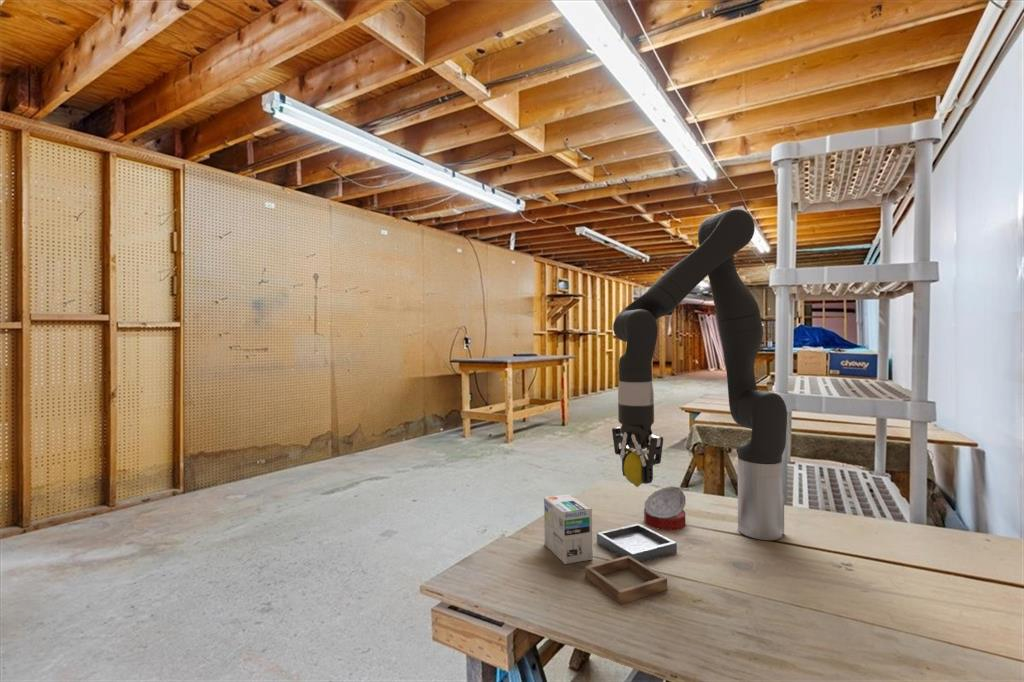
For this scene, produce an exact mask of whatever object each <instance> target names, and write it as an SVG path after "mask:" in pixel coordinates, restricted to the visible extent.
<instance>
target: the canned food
mask: <svg viewBox="0 0 1024 682" xmlns="http://www.w3.org/2000/svg"><path fill="white" fill-rule="evenodd" d="M686 505H687V504H686V495H685V493H684V491H683V490H682V489H680V487H678V486H677V487H676V486H672V485H671V486H667V487H663V488H661V489H658V490H655V491H654V492H653V493H651V494H650V495H649V496H648V497H647V499H646V500H645V502H644V506H643V507H644V509H643V522H644V524H645V525H647V526H648V525H649V526H648V527H650V526H651V528H653V527H654V528H653V529H656V528H659V529H658V530H660V529H665V530H664V531H679V530H682V529H684V528H685V527H686V511H685V510H684V508H685V506H686ZM678 529H679V530H678Z"/></svg>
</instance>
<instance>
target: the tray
mask: <svg viewBox="0 0 1024 682" xmlns="http://www.w3.org/2000/svg"><path fill="white" fill-rule="evenodd" d="M596 543H597V544H598V545H600V546H601V547H603V548H605V549H606V550H608V552H609V551H610V552H611V553H612V554H614V555H616V556H617V557H618V558H621V557H625V556H628V555H629V556H631V557H632V558H634V559H636V560H637V561H639V562H641V563H642V564H643V563H645V562H649V561H652V560H656V559H657V560H658V559H660V558H664V557H668V556H670V555H676V554H678V553H677V552H678V542H677V541H674V540H672V539H670V538H668V537H666V536H664V535H662V534H660V533H658V532H656V531H655V530H653V529H650V528H648V527H646V526H645V525H642V524H641V523H633V524H630V525H626V526H622V527H617V528H613V529H608V530H603V531H599V532H596Z"/></svg>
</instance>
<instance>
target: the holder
mask: <svg viewBox="0 0 1024 682" xmlns="http://www.w3.org/2000/svg"><path fill="white" fill-rule="evenodd" d="M626 569H630V570H631V571H632V572H634V573H636V574H637V575H639V576H641V577H642V578H643V579H645V580H647V581H644V582H642V583H641V582H640V583H639V584H638V583H637V584H635V585H632V586H628V587H626V588H620V587H619V586H618V585H617V584H615V583H614V582H612V581H610V580H609V579H608V578H606V577H605V576H604V575H607V574H611V573H615V572H618V571H622V570H626ZM584 570H585V571H584V572H585V573H584V574H585V575H584V577H585V579H587V580H588V581H589V582H591V583H593V584H594V585H595V586H596V587H597V588H599V589H600V590H602V591H603V592H604V593H606V595H608V596H609V597H611V598H612V599H613V600H614V601H616V602H617V603H619V604H620V605H624V604H626V603H629V602H632V601H635V600H639V599H642V598H646V597H648V596H651V595H655V594H657V593H658V594H659V593H662V592H665V591H667V590H668V578H667V577H665V576H664V575H662V574H660V573H659V572H657V571H655V570H654V569H652V568H651V567H649V566H647V565H646V564H644V563H643V562H642V563H641V562H639V561H637V560H636V559H634V558H632V557H631V556H629V555H628V556H625V557H621V558H620V557H618V558H614V559H610V560H606V561H601V562H599V563H595V564H591V565H587V566H585V567H584Z"/></svg>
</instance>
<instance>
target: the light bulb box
mask: <svg viewBox="0 0 1024 682" xmlns="http://www.w3.org/2000/svg"><path fill="white" fill-rule="evenodd" d="M543 509H544V510H543V511H544V513H543V514H544V515H543V517H544V520H543V521H544V525H543V527H544V545H545V546H546V547H547V548H548V549H549V550H550V551H551V552H552V554H554V555H555V556H556V557H557V558H558V559H559V560H560V561H561V562H562V563H563V564H564V565H567V564H574V563H579V562H584V561H591V560H593V559H594V558H593V553H594V552H593V509H592V508H591V507H590V506H588V505H587V504H585V503H583V502H582V501H580V500H579V499H577V498H576V497H574V496H573V495H571V494H570V493H569V494H568V493H567V494H559V495H550V496H544V497H543Z"/></svg>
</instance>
